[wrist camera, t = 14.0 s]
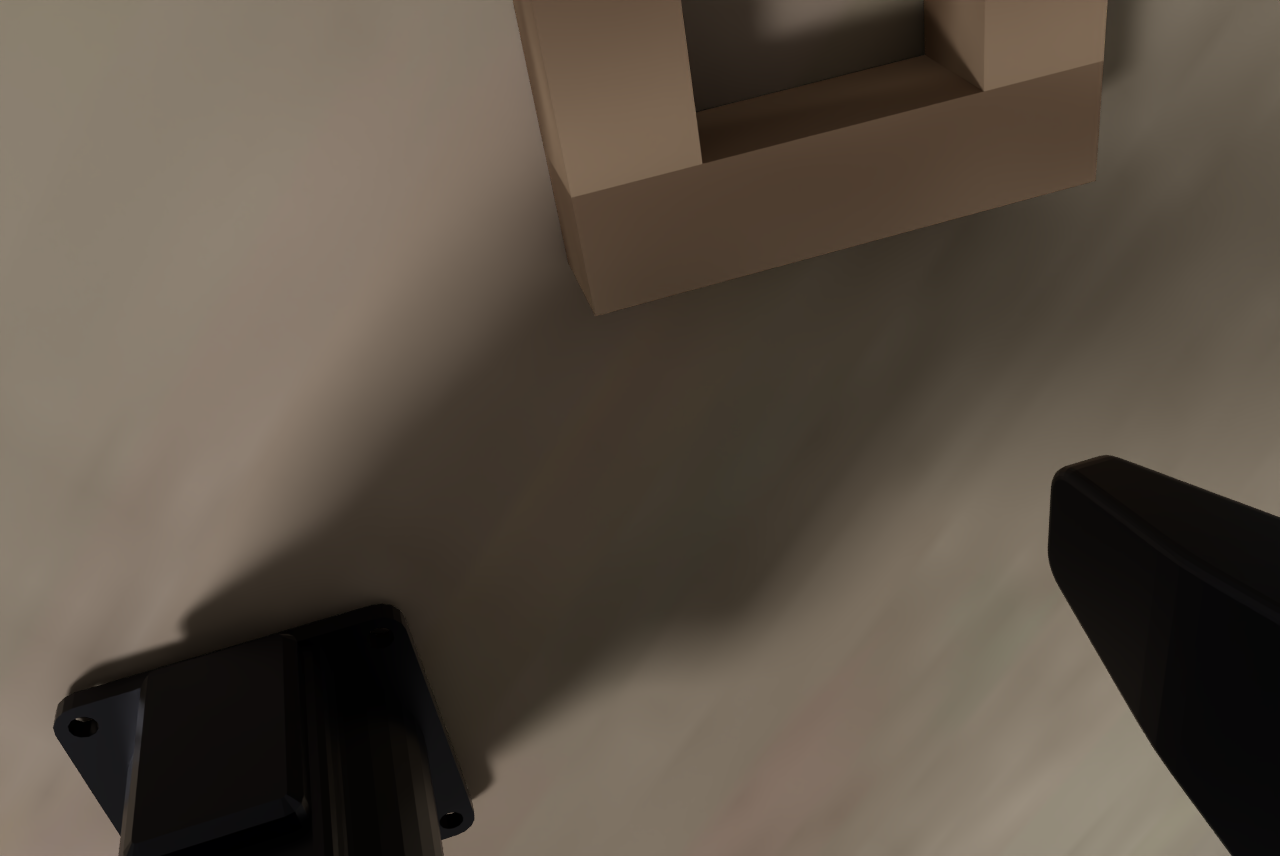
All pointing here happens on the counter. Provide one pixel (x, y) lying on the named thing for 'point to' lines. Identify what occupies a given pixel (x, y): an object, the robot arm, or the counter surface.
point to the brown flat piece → (798, 139)
